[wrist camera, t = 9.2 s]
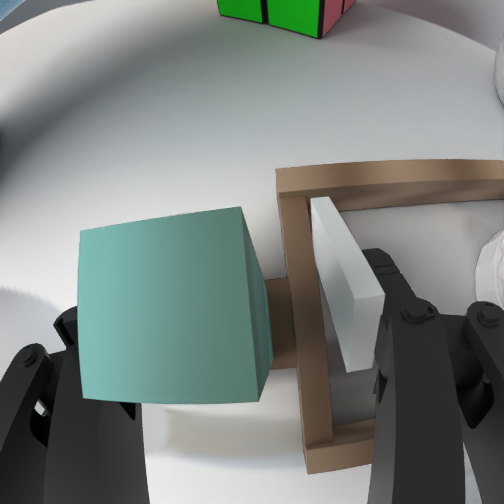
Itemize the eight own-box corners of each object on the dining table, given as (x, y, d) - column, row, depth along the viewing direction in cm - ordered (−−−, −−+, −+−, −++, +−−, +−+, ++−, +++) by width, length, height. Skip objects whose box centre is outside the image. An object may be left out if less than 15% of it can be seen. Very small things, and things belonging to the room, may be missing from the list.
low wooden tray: (223, 456, 14) (140, 597, 3) (203, 205, 17) (116, 51, 7) (562, 364, 12) (676, 354, 2) (528, 182, 16) (616, 100, 5)
